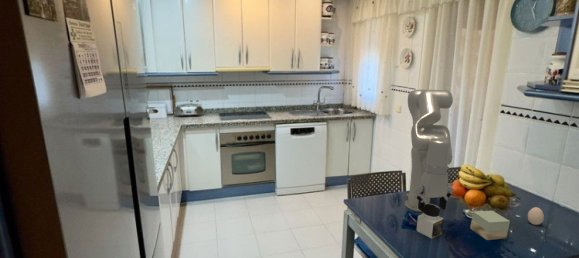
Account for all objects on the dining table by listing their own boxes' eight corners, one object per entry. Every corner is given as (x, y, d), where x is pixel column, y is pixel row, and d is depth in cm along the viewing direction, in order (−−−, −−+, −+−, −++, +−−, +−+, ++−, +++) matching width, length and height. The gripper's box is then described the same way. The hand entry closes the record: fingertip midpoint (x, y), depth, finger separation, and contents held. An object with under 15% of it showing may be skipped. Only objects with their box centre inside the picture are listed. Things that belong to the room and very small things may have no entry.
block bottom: (470, 229, 132) (471, 220, 131) (488, 227, 134) (489, 218, 133) (487, 240, 124) (488, 231, 123) (506, 238, 125) (507, 229, 124)
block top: (471, 220, 132) (473, 211, 131) (491, 219, 133) (492, 210, 132) (487, 231, 123) (489, 222, 122) (508, 230, 124) (509, 221, 123)
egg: (537, 228, 132) (541, 211, 131) (523, 222, 137) (526, 206, 136) (544, 225, 135) (548, 209, 133) (530, 220, 140) (533, 203, 138)
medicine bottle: (431, 239, 124) (435, 211, 121) (416, 231, 130) (418, 204, 127) (442, 233, 128) (445, 207, 125) (426, 226, 134) (429, 200, 131)
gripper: (448, 165, 128) (444, 203, 132) (411, 167, 125) (407, 207, 128) (462, 171, 121) (456, 211, 125) (422, 174, 117) (418, 215, 121)
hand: (431, 209), depth 126 cm, fingers open, 9 cm apart
